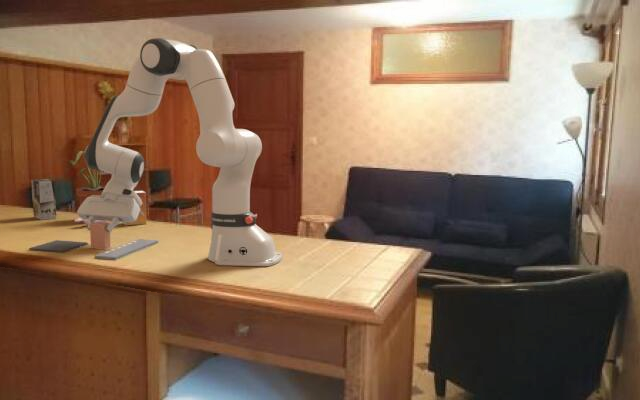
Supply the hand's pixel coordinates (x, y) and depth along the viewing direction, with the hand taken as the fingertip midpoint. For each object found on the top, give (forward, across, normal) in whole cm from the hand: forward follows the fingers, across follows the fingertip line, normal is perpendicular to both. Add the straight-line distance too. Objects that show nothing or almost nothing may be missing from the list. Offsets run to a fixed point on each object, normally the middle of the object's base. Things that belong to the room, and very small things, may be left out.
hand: (98, 230), depth 164 cm
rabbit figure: (-18, -26, +27) cm, 42 cm away
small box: (-24, -13, +33) cm, 43 cm away
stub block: (+4, 0, +5) cm, 6 cm away
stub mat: (+6, -13, +2) cm, 14 cm away
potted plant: (-26, -33, +34) cm, 54 cm away
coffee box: (-24, -55, +33) cm, 69 cm away
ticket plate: (+4, +10, +5) cm, 12 cm away
